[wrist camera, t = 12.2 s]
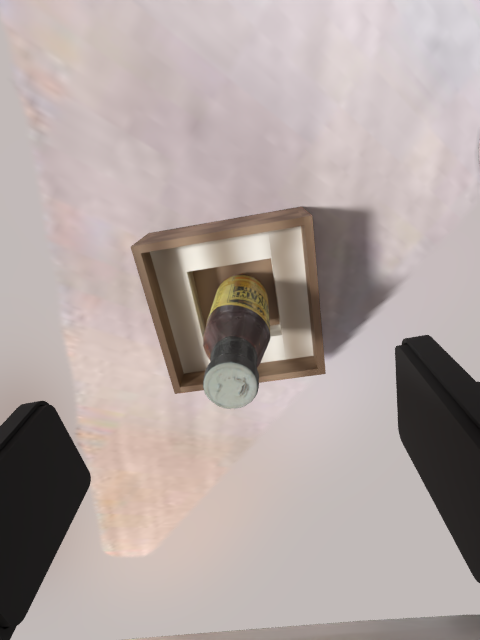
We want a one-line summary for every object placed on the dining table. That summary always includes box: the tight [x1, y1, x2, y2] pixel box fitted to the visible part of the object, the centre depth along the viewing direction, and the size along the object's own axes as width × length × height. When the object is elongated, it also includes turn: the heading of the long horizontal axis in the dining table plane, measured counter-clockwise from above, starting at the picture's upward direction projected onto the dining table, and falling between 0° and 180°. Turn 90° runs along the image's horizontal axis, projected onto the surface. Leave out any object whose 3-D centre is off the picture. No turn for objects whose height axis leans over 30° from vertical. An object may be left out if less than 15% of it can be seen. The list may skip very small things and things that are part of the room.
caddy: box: [131, 207, 325, 394], centre depth 41 cm, size 18×18×7 cm
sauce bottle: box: [203, 273, 270, 409], centre depth 34 cm, size 6×6×20 cm
